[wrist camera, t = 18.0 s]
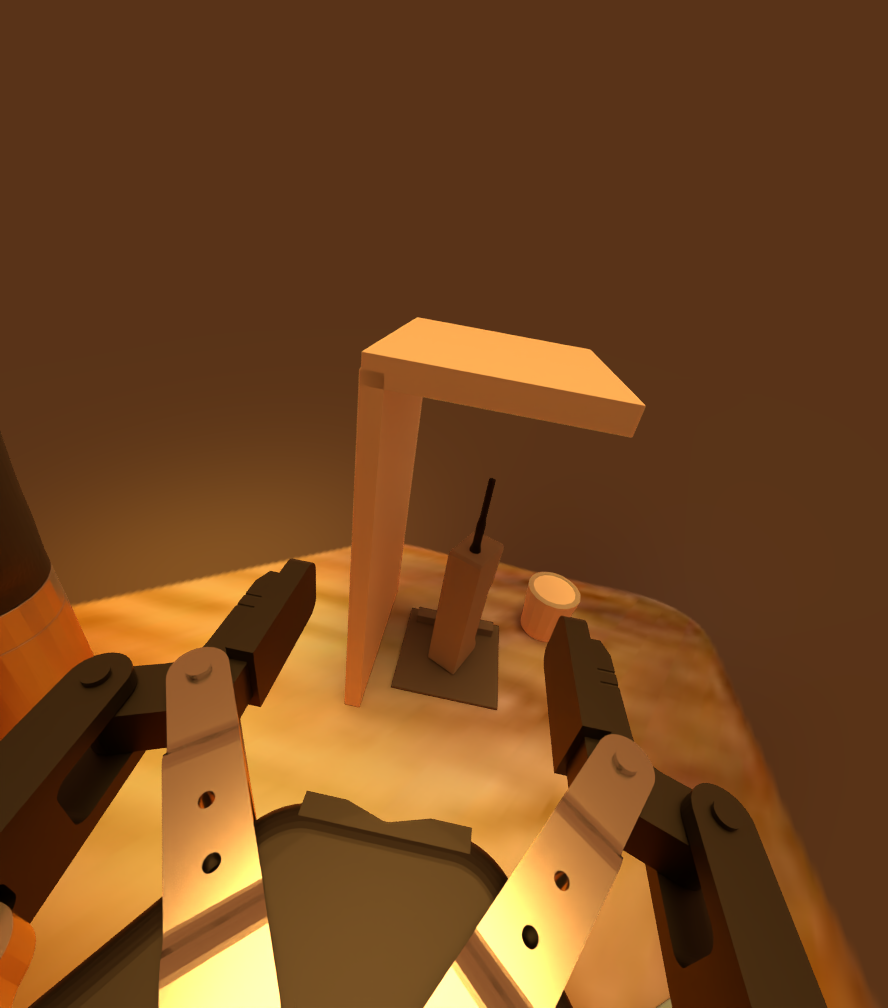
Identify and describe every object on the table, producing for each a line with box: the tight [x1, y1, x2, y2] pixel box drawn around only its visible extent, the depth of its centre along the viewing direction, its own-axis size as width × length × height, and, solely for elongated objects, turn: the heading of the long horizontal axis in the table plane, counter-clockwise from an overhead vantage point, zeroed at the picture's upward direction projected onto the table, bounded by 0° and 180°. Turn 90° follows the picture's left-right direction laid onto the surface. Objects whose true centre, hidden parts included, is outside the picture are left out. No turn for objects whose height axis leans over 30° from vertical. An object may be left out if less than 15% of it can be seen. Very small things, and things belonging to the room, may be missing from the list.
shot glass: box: [520, 572, 580, 642], centre depth 55 cm, size 7×7×7 cm
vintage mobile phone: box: [428, 478, 504, 674], centre depth 43 cm, size 4×5×25 cm
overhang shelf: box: [345, 317, 645, 710], centre depth 41 cm, size 17×18×36 cm
